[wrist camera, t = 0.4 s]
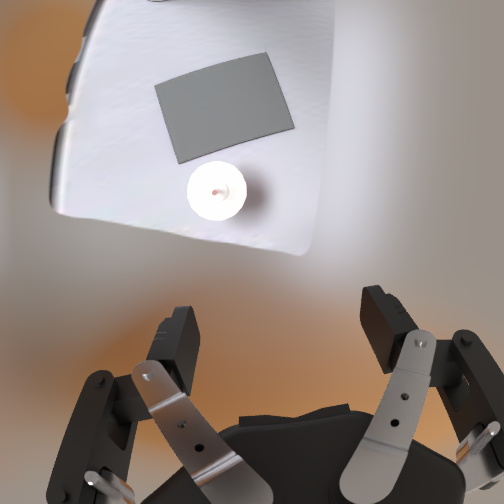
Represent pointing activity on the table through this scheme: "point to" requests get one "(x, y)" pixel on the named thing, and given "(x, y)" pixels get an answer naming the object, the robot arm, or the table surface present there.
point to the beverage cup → (216, 190)
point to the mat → (222, 106)
